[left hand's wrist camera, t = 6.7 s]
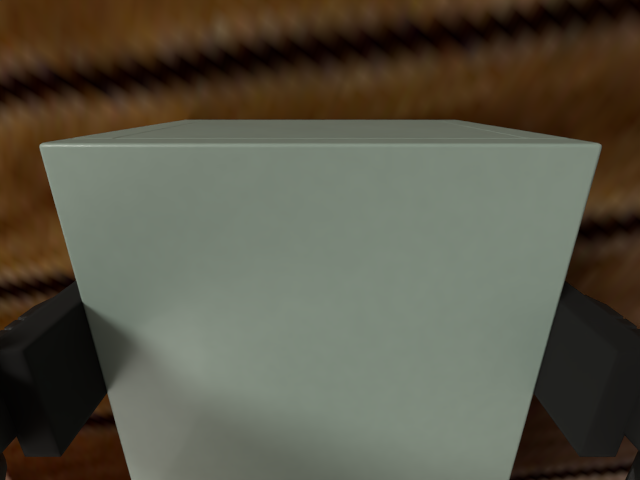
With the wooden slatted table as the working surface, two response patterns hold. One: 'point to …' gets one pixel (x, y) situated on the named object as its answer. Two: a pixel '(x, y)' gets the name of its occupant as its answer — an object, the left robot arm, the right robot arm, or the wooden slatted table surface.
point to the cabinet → (320, 290)
